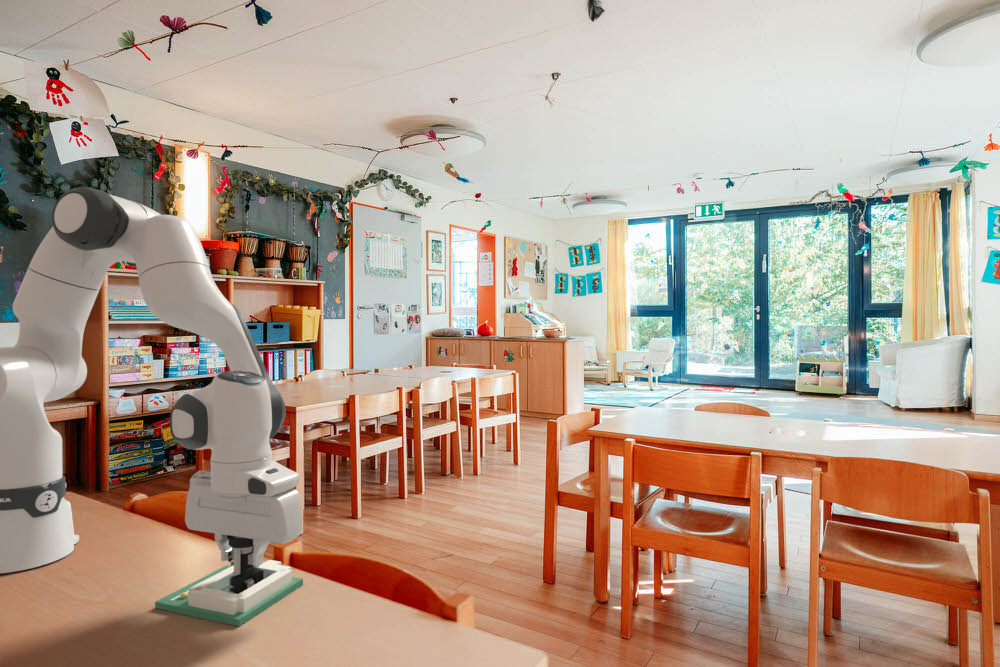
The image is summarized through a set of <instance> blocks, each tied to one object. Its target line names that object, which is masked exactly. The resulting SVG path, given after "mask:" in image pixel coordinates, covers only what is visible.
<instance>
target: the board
mask: <svg viewBox="0 0 1000 667" xmlns="http://www.w3.org/2000/svg"><path fill="white" fill-rule="evenodd" d="M257 568H258V569H261V570H263V571H264V580H262V581H260V582H258V583H257V584H255V585H253V586H252V587H250V588H248V589H246V590H245V591H243V592H241V593H240V594H235V593H230V592H228V591H229V589H227V590H224V591H222V590H221V589H222V588H224V587H227V586H228V585H229V577H230V576H232V575H233V572H234V565H233V566H231V565H228V564H227V565H225V566H222V567H221V568H219V569H216V570H214V571H212V572H211V573H209V574H206V575H204V576H203V577H201V578H199V579H197V580H195V581H193V582H191V583H190V584H187V585H185V586H183V587H182V588H180V589H177V590H175V591H174V592H171V593H170V594H168V595H165V596H164V597H162V598H160V599H158V600H155V602H154V608H155V609H156V608H158V609H157V610H161V609H163V610H162V611H165V610H167V611H166V612H170V611H171V612H170V613H175V612H176V613H175V614H180V615H184V616H190V617H192V618H199V619H203V620H207V621H211V622H217V623H220V624H225V623H226V624H225V625H229V624H231V625H230V626H234V625H235V626H234V627H241V626H243V625H244V624H245V623H247V622H248V620H249V621H250V620H252V619H253V618H255V617H257V615H260V614H261V613H263V612H264V611H265V610H267V609H268V608H270V607H272V606H273V605H274V604H276V603H278V602H279V601H280V600H282V599H283V597H284V598H285V597H287V596H288V595H290V594H291V593H293V592H294V591H295V590H297V589H299V588H300V587H302V586H303V585H304V579H303V578H301V577H295V576H293V570H292V566H287V565H282V561H278V560H274V559H273V560H272V559H269V560H266V561H263V564H261V565H260V566H259V567H257ZM225 589H226V588H225ZM289 593H290V594H289ZM286 595H287V596H286ZM272 604H273V605H272ZM263 610H264V611H263ZM254 616H255V617H254ZM251 618H252V619H251ZM221 622H222V623H221ZM243 623H244V624H243ZM240 625H241V626H240Z"/></svg>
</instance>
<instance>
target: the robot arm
mask: <svg viewBox="0 0 1000 667" xmlns="http://www.w3.org/2000/svg"><path fill="white" fill-rule="evenodd" d="M51 222H52V227H51V228H50V230H48V232H47V234H46V235H45V236H44V238H43V240H42V241H41V242H40V244H39V245H38V247H37V249H36V251H35V253H34V254H33V256H32V258H31V260H30V263H29V265H28V267H27V269H26V272H25V274H24V277H23V279H22V282H21V284H20V286H19V289H18V290H17V294H16V296H15V298H14V300H13V302H12V312H13V314H14V315H15V317H16V318H17V319H18V323H19V333H18V340H17V342H16V343H15V344H14V346H8V347H7V346H6V347H5V346H3V347H0V574H7V573H14V572H21V571H25V570H29V569H34V568H38V567H42V566H44V565H48V564H51V563H53V562H56V561H58V560H61V559H63V558H65V557H67V556H69V555H70V554H72V552H74V550H75V545H76V544H77V543H79V542H80V540H79V539H80V535H79V534H75V531H74V529H75V528H74V523H73V513H72V506H71V502H70V501H68V499H65V496H66V494H67V482H66V476H65V475H63V438H62V435H61V433H60V432H58V430H56V429H55V428H54V427H52V425H51V424H50V422H49V420H48V418H47V415H46V410H45V407H44V404H45V403H49V402H54V401H57V400H61V399H63V398H64V397H66V396H69V395H71V394H73V393H74V392H75V391H77V390H79V389H80V388H81V387H82V386H83V384H85V381H86V379H87V375H88V367H87V364H86V361H85V359H84V357H83V356H82V354H83V353H82V352H83V350H82V349H83V339H84V332H85V329H86V325H87V321H88V320H89V317H90V314H91V311H92V309H93V307H94V305H95V302H96V300H97V297H98V294H99V292H100V289H101V287H102V285H103V282H104V279H105V277H106V274H107V272H108V271H109V269H110V267H112V266H113V265H114V264H116V263H119V262H125V264H127V265H128V266H129V267H136V273H137V277H138V283H139V286H140V290H141V295H142V298H143V301H144V303H145V305H146V307H147V309H148V310H149V312H150V313H151V314H152V315H153V316H154V317H156V319H158V320H160V321H161V322H163V323H165V324H167V325H168V326H171V327H173V328H177V329H178V330H179V329H180V330H183V331H187V332H190V333H193V334H195V335H198V336H201V337H203V338H205V339H207V340H209V341H210V342H212V343H214V344H215V345H216V347H218V348H219V350H220V351H221V352H222V354H223V356H224V358H225V360H226V363H227V365H228V367H229V370H227V371H223V372H220V373H218V374H216V375H215V376H214V377H213V379H212V381H211V382H210V383H209V384H208V385H206V386H205V387H202V388H200V389H197V390H194V391H191V392H188V393H184V394H182V395H181V396H179V398H178V399H177V400H176V401H175V403H174V404H173V407H172V408H171V410H170V414H169V430H170V435H171V436H172V438H173V440H175V442H177V444H179V445H180V446H181V447H183V448H185V449H187V450H195V451H198V450H201V451H203V450H207V449H210V450H211V455H210V456H211V457H210V471H205V470H198V471H197V472H196V473H194V474H193V475H192V476H191V477H190V479H189V489H188V490H187V491H188V492H187V496H186V504H185V514H184V515H185V516H184V522H185V523H184V524H186V527H187V529H189V530H192V531H199V532H203V533H205V532H206V533H211V534H214V541H215V543H216V545H217V546H218V549H219V551H220V561H221V562H228V563H231V562H232V561H234V548H232V547H231V546H230V545H229V540H228V539H227V535H229V536H236V537H242V538H249V539H253V545H254V546H256V548H255V550H254V552H253V553H252V554H249V555H248V565H249V566H255V567H258V566H260V565H261V564H263V562H265V560H264V553H265V552H266V550H267V548H268V546H269V544H270V543H274V544H275V543H276V544H281V545H282V544H283V545H284V544H288V543H289V542H292V541H293V540H294V539H297V538H298V537H299V535H300V534H301V532H302V529H303V511H302V510H303V509H302V508H303V507H302V499H301V496H300V493H299V491H298V490H297V489H296V488H295V487H298V486H299V484H300V474H299V473H298V472H296V471H294V470H292V469H290V468H288V467H286V466H284V465H282V464H280V463H279V462H277V461H276V460H274V459H273V450H272V447H271V443H270V440H271V439H273V438H274V437H275V435H277V434H278V432H279V431H280V430H281V427H282V426H283V423H284V422H285V419H286V415H287V412H286V411H287V408H286V404H285V401H284V399H283V396H282V395H281V393H280V392H279V390H278V388H277V387H276V385H275V384H274V383H273V381H272V379H271V377H270V375H269V373H268V371H267V368H266V366H265V363H264V362H263V359H262V357H261V354H260V352H259V350H258V347H257V345H256V343H255V341H254V338H253V336H252V334H251V331H250V329H249V327H248V326H247V322H246V321H245V319H244V317H243V315H242V314H241V312H240V310H239V309H238V308H237V306H235V305H234V304H233V303H231V302H230V301H229V300H228V299H227V298H226V297H225V296H224V295H223V293H222V291H220V289H219V287H218V286H217V284H216V282H215V280H214V278H213V275H212V272H211V268H210V264H209V261H208V258H207V255H206V252H205V250H204V248H203V245H202V242H201V240H200V238H199V236H198V233H197V231H196V230H195V228H194V227H193V225H192V224H191V223H190V222H189V221H187V220H186V219H184V218H183V217H181V216H179V215H178V216H177V215H173V214H164V213H160V212H158V211H156V210H154V209H153V208H151V207H148V206H146V205H144V204H142V203H139V202H137V201H134V200H129V199H126V198H123V197H119V196H116V195H114V194H113V195H112V194H109V193H108V192H105V191H103V190H100V189H96V188H92V187H91V188H90V187H84V186H83V187H81V186H80V187H78V186H77V187H73V188H70V189H69V190H67V191H65V192H64V193H63V194H62V195H61V196H60V197H59V198H58V199H57V201H56V202H55V204H54V207H53V209H52V213H51ZM78 541H79V542H78ZM74 544H75V545H74Z"/></svg>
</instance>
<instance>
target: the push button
mask: <svg viewBox="0 0 1000 667" xmlns="http://www.w3.org/2000/svg"><path fill="white" fill-rule="evenodd" d="M227 539H228V540H229V545H230V546H231V547H232V548H234V560H233V561H234V572H233V575H232V576H230V577H229V585H228V586H227V587H224V588H222V589H221V590H222V591H224V590H227V589H229V591H228V592H230V593H235V594H240V593H241V592H243V591H245V590H246V589H248V588H250V587H252V586H253V585H255V584H257V583H258V582H260V581H262V580H264V571H263V570H261V569H258V568H257V567H255V566H249V565H248V555H249V554H252V553H253V552H254V550H255V548H256V546H254V545H253V539H249V538H242V537H236V536H229V535H227ZM258 567H259V566H258ZM225 588H226V589H225Z"/></svg>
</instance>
